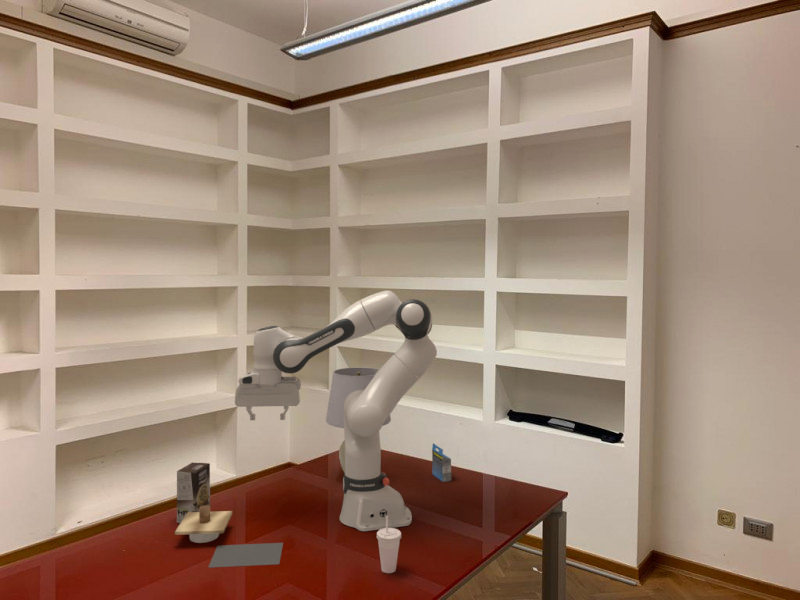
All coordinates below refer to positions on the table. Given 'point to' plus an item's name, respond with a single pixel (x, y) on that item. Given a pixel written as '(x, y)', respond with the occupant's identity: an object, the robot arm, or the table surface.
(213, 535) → the ramekin
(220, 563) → the mat
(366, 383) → the lamp
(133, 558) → the table surface
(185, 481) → the coffee box
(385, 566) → the smoothie
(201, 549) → the table surface
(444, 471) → the label tape box
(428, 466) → the table surface
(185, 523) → the lid
